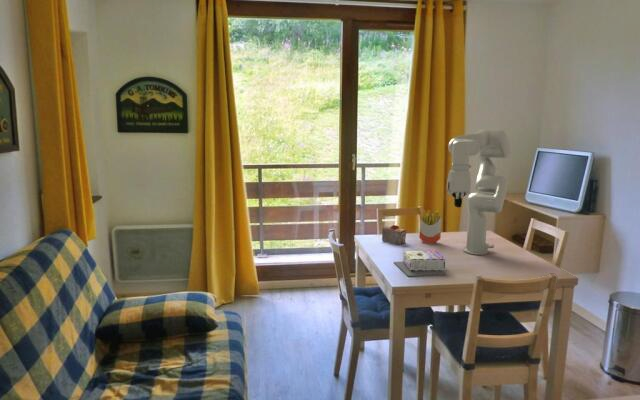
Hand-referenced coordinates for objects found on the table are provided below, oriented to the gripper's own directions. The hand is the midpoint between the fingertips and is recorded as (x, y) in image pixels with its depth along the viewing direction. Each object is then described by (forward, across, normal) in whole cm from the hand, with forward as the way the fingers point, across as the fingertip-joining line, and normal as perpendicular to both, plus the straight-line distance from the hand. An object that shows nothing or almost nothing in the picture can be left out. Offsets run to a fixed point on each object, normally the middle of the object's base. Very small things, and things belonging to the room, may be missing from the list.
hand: (457, 206), depth 225 cm
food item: (+30, +15, -46) cm, 56 cm away
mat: (+29, +18, +1) cm, 34 cm away
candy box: (+26, +7, +1) cm, 27 cm away
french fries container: (+30, -5, -42) cm, 51 cm away
